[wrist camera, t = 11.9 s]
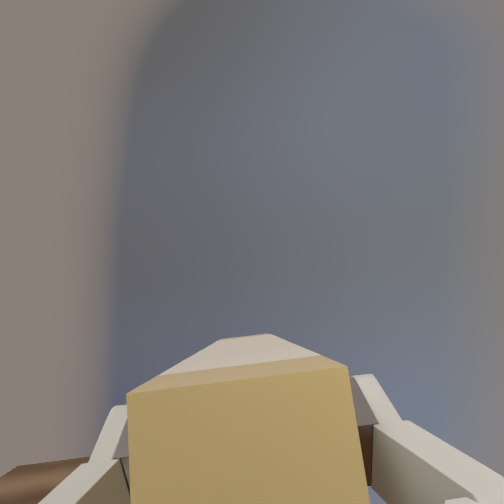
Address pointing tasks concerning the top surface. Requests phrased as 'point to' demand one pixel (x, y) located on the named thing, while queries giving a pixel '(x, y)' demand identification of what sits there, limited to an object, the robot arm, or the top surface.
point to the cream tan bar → (246, 429)
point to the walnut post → (35, 480)
